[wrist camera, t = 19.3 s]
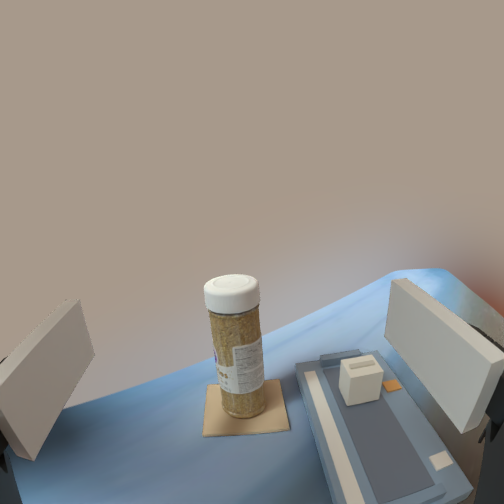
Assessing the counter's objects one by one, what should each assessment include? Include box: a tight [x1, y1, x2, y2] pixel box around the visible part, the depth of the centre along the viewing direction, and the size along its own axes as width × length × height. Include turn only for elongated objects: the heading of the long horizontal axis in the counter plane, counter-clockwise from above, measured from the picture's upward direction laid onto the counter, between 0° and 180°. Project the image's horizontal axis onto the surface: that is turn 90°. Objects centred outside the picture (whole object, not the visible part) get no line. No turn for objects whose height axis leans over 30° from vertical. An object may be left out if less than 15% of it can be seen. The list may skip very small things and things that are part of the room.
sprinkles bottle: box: [204, 274, 266, 418], centre depth 28 cm, size 5×5×14 cm
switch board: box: [295, 349, 474, 504], centre depth 24 cm, size 10×22×2 cm, turn 3°
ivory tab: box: [339, 354, 384, 406], centre depth 27 cm, size 3×3×4 cm
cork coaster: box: [202, 379, 290, 437], centre depth 30 cm, size 8×8×1 cm
